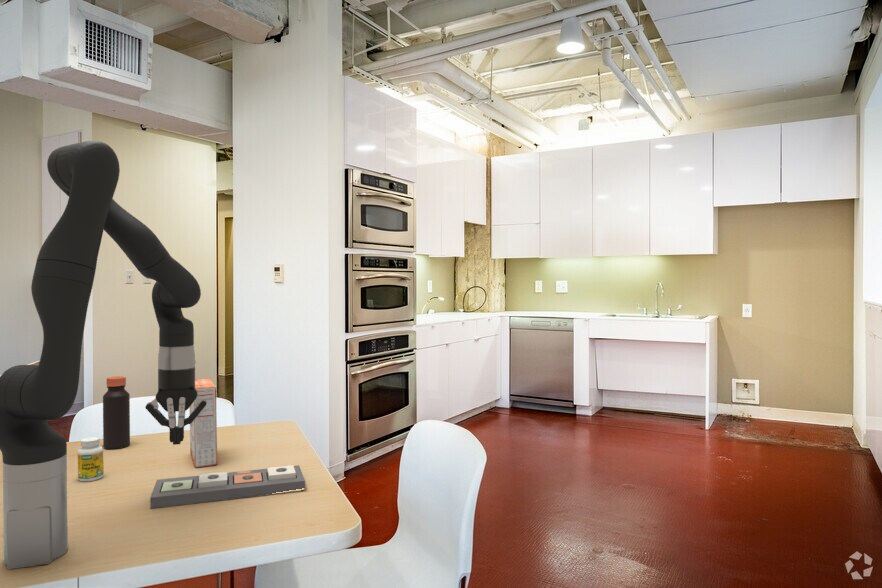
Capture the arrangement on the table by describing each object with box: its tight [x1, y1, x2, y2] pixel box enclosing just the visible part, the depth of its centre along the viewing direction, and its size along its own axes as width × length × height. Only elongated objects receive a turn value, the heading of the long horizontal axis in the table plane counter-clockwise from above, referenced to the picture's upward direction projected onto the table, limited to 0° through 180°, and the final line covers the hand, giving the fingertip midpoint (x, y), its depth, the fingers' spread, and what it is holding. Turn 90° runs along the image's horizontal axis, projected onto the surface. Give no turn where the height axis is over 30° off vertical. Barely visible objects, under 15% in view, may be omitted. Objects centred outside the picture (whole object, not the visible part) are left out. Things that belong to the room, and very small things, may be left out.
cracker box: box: [189, 378, 218, 469], centre depth 158 cm, size 14×6×21 cm, turn 27°
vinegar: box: [102, 375, 131, 450], centre depth 171 cm, size 7×7×20 cm
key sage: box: [161, 480, 193, 492], centre depth 132 cm, size 6×6×2 cm
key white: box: [198, 471, 228, 488], centre depth 134 cm, size 6×6×2 cm
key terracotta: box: [234, 472, 262, 485], centre depth 137 cm, size 6×6×2 cm
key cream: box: [266, 464, 296, 481], centre depth 139 cm, size 6×6×2 cm
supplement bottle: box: [77, 436, 105, 482], centre depth 143 cm, size 5×5×10 cm
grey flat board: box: [149, 464, 306, 509], centre depth 135 cm, size 12×32×2 cm, turn 110°
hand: (176, 443), depth 131 cm, fingers closed
